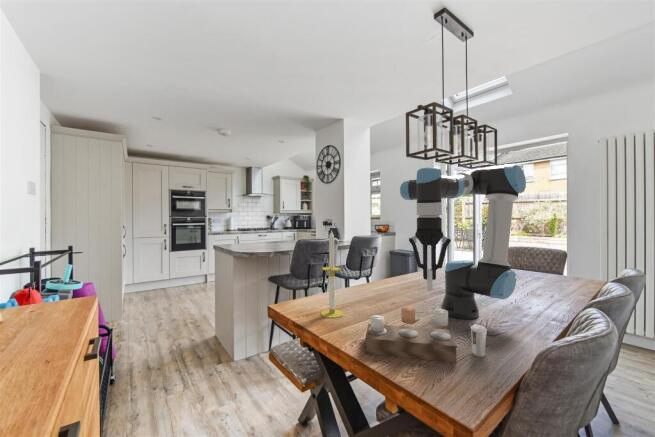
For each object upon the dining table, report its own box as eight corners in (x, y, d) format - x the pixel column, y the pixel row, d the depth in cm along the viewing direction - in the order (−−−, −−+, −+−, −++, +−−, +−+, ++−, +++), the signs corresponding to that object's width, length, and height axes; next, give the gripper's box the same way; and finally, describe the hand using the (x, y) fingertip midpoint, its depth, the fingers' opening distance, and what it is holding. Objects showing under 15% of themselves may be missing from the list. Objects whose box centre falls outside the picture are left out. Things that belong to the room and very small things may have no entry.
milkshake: (465, 351, 92) (465, 320, 92) (481, 350, 93) (481, 320, 92) (473, 358, 88) (473, 326, 87) (490, 357, 88) (490, 325, 88)
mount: (448, 344, 97) (448, 328, 97) (456, 362, 85) (456, 344, 85) (368, 337, 103) (368, 322, 103) (365, 353, 91) (365, 336, 91)
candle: (336, 319, 120) (335, 230, 119) (316, 315, 125) (315, 229, 124) (347, 312, 128) (346, 229, 127) (328, 308, 134) (327, 228, 133)
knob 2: (446, 321, 93) (446, 309, 93) (449, 326, 89) (449, 313, 89) (432, 320, 94) (432, 308, 94) (434, 325, 90) (434, 312, 90)
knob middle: (414, 319, 96) (414, 307, 95) (415, 324, 91) (415, 311, 91) (401, 318, 97) (401, 306, 96) (401, 323, 92) (401, 310, 92)
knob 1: (384, 327, 98) (384, 315, 98) (383, 332, 94) (383, 320, 93) (371, 326, 99) (371, 314, 99) (370, 331, 94) (370, 319, 94)
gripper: (448, 215, 94) (449, 287, 94) (407, 216, 97) (408, 285, 98) (453, 216, 86) (453, 294, 87) (408, 217, 90) (408, 291, 90)
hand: (429, 289), depth 92 cm, fingers closed
